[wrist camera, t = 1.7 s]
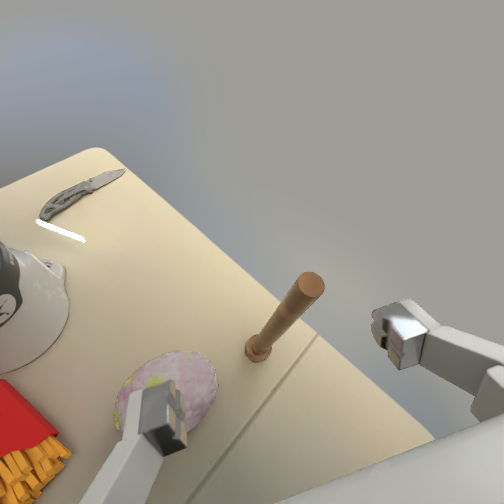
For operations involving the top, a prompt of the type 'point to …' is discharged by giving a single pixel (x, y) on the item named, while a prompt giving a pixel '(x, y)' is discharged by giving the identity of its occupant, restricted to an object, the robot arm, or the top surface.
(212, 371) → the decorative item
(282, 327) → the muddler
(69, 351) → the top surface
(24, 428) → the french fries
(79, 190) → the knife
